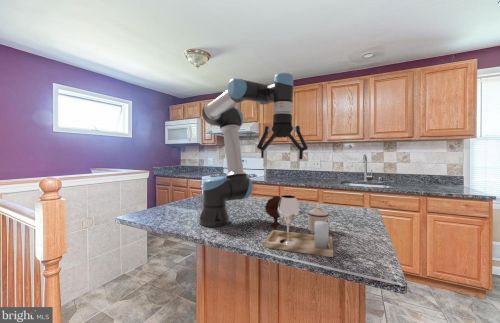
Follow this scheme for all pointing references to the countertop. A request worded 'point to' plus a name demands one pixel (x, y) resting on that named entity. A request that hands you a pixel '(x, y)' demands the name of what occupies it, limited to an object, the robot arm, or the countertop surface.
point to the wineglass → (288, 214)
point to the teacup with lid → (316, 217)
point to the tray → (297, 243)
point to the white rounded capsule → (321, 234)
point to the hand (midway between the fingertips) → (281, 166)
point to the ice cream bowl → (273, 209)
